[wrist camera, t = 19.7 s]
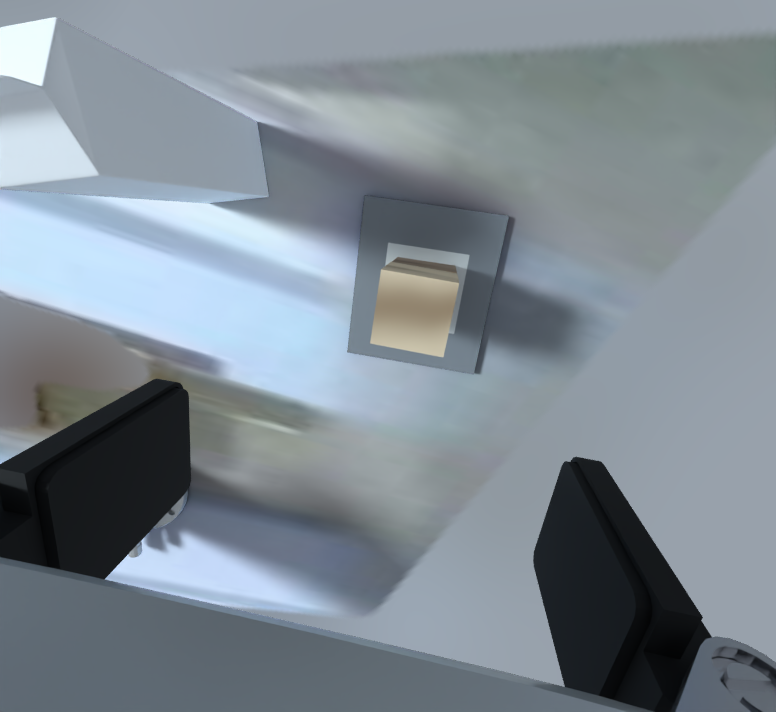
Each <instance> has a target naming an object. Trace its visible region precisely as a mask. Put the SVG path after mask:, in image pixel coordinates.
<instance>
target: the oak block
mask: <svg viewBox="0 0 776 712" xmlns="http://www.w3.org/2000/svg"><path fill="white" fill-rule="evenodd" d="M458 287H459V279H458V275H457V273H453V272H447V271H441V270H436V269H430V268H424V267H419V266H413V265H407V264H401V263H396V262H390V263H389V264H387V265H386V266H385V267H383V268H382V269H381V274H380V280H379V287H378V294H377V300H376V307H375V314H374V321H373V327H372V334H371V341H370V344H375V345H381V346H386V347H391V348H396V349H402V350H407V351H412V352H417V353H423V354H428V355H433V356H438V357H444V352H445V348H446V343H447V338H448V334H449V329H450V324H451V320H452V315H453V310H454V306H455V301H456V296H457V292H458Z"/></svg>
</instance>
